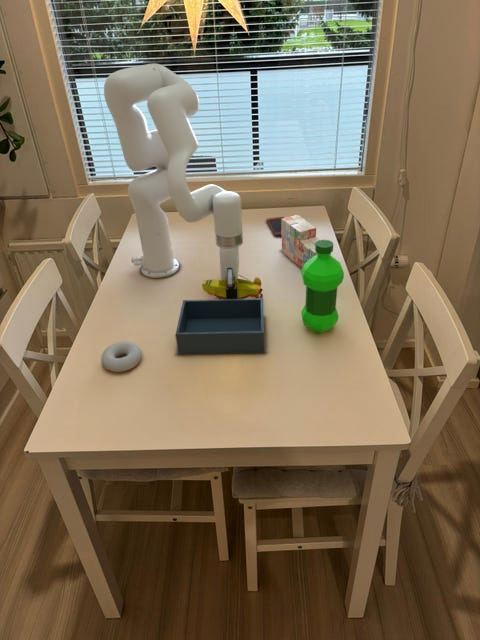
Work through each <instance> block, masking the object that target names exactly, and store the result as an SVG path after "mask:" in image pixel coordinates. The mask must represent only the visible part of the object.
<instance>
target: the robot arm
mask: <svg viewBox="0 0 480 640" xmlns="http://www.w3.org/2000/svg"><path fill="white" fill-rule="evenodd" d="M103 95H104V100H105V104H106V106H107V109H108V111H109V113H110V115H111V117H112V120H113V121H114V124H115V128H116V131H117V136H118V140H119V143H120V147H121V152H122V155H123V158H124V161H125V164H126V166H127V167H128V169H129V170H131V171H133V172H141V171H145V170H148V169H152V168H153V167H155V169H153V170H151V171H148V172H146V173H144V174H140V175H139V176H136V177H135V178H133V179H132V180H131V181H130V182H129V184H128V187H127V194H128V198H129V199H130V203H131V205H132V208H133V211H134V214H135V219H136V223H137V229H138V235H139V240H140V245H141V250H142V255H141V256H131V263H132V264H133V266H135V267H137V266H140V271H141V274H143V275H144V276H145V277H147V278H153V279H161V278H166V277H169V276H172V275H173V274H175V273H177V272H178V270H179V269H180V264H179V261H178V259H176V258H174V253H173V247H172V240H171V232H170V225H169V219H168V215H167V214H166V212H165V211H164V209H162V208H161V204H162V203H164V202H166V201H168V200H171V201H172V203H173V205H174V207H175V209H176V211H177V213H178V214H179V216H180V217H181V218H182V219H183V220H184V221H185V222H187V223H190V224H191V223H192V224H193V223H197V222H199V221H201V220H203V219H206V218H207V217H210V216H211V215H213V225H214V236H215V245H216V246H217V247H218V248H219V266H220V267H219V268H220V279H221V280H225V279H226V298H227V299H238V296H237V287H236V280H237V279H239V272H240V271H239V269H240V247H241V246H242V245H243V244H244V235H243V232H244V231H243V215H242V214H243V212H242V211H243V210H242V198H241V195H239V194H238V193H237V192H235V191H228V190H225V189H224V188H222V187H220V186H219V185H216V184H206V185H205V186H202V187H200V188H197V189H195V190H193V191H190V188H189V186H188V182H187V177H186V176H187V175H186V173H187V168H188V164H189V162H190V160H191V158H192V157H193V156H194V154H195V153H196V151H197V150H198V148H199V142H198V139H197V137H196V134H195V132H194V130H193V127H192V125H191V123H190V121H189V118H190V117H192V116H194V115H196V114H197V113H198V111H199V108H200V99H199V96H198V93H197V92H196V90H195V88H194V87H193V86H192V85H191V84H190V83H189V82H188V81H186V80H185V79H184V78H183V77H181V76H180V75H178V74H176V73H175V72H174V71H172V70H170V69H169V68H168V67H166V66H164V65H162V64H160V63H147V64H142V65H138V66H137V65H136V66H131V67H125V68H122V69H119V70H116V71H114V72H112V73H111V74H109V75H108V76H107V78H106V79H105V81H104V84H103ZM144 102H146V106H147V110H148V112H149V115H150V117H151V119H152V122H153V124H154V126H155V128H156V129H153V130H150V131H149V129H148V123H147V119H146V117H145V115H144V113H143V112H142V111H141V109H140V108H139V107H138V106H137V105H136V104H140V103H144ZM227 276H228V278H227ZM232 276H234V278H232ZM232 280H234V283H233V282H232Z"/></svg>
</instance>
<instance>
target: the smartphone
mask: <svg viewBox="0 0 480 640" xmlns="http://www.w3.org/2000/svg"><path fill="white" fill-rule="evenodd" d="M282 218H285V216H277V217H269V218H266V222H267V224H268V226H269V228H270V230H271V231H272V233H273V235H274V237H282V235H281V227H282V224H281V219H282Z"/></svg>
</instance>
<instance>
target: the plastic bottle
mask: <svg viewBox="0 0 480 640" xmlns="http://www.w3.org/2000/svg"><path fill="white" fill-rule="evenodd" d="M315 251H316V252H317V255H316V256H314V257H313V258H311V259H310V260H308V261H307V262H306V263H305V264H304V265H303V267H302V268H301V277H302V282H303V285H304V286H305V302H304V306H303V307H302V310H301V313H300V314H301V318H302V320H301V321H302V323H303V325H304V326H305V327H306V328H308V329H309V330H311V331H312V332H314V333H319V334H320V333H321V334H322V333H324V332H327V331H329V330H331V329H333V327H334V326H335V325H336V324H337V323H338V321H339V312H338V310H337V295H338V287H339V286H340V285H341V284H342V283H343V281H344V277H345V272H344V269H343V266H342V264H341V262H340V261H339V260H338V259H336V258H335V257H334V256H332V255H331V256H330V253H331V254H332V253H333V252H334V243H333V241H331V240H329V239H320V240H319V241H317V242H316V243H315Z"/></svg>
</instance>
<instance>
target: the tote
mask: <svg viewBox="0 0 480 640" xmlns="http://www.w3.org/2000/svg"><path fill="white" fill-rule="evenodd" d="M264 315H265V314H264V298H260V297H259V298H257V299H256V298H245V299H221V298H218V299H217V298H216V299H183V300H182V305H181V308H180V312H179V316H178V321H177V324H176V325H177V326H176V330H175V339H176V340H175V341H176V347H177V353H178V355H227V354H228V355H229V354H230V355H231V354H232V355H233V354H265V322H264V321H265V319H264Z"/></svg>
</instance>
